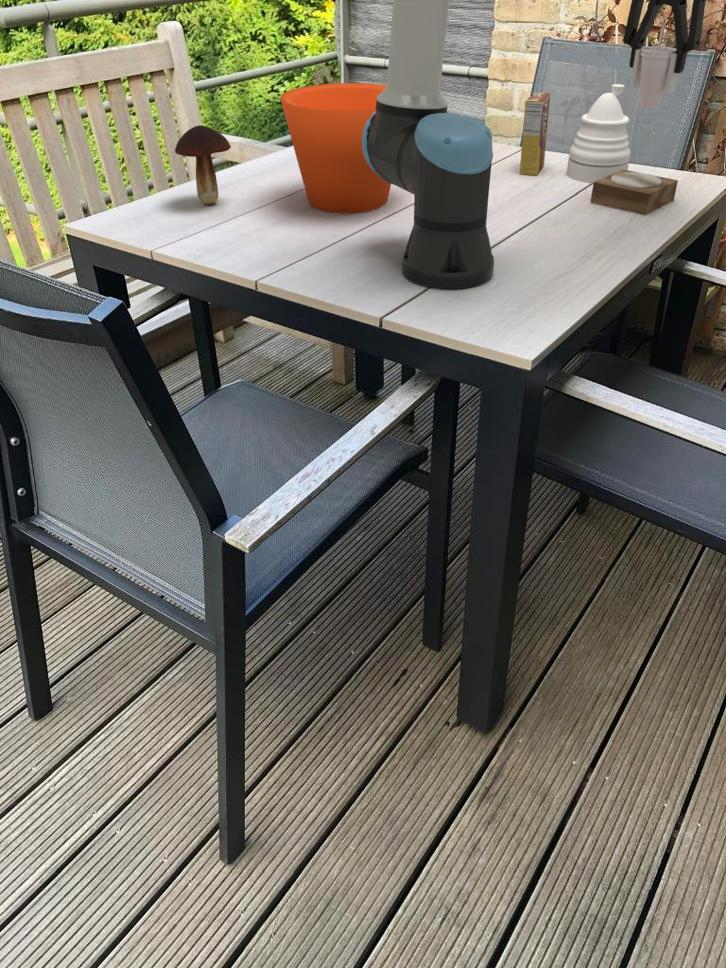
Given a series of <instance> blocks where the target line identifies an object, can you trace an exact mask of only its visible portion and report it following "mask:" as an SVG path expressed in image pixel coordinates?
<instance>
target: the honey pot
mask: <svg viewBox="0 0 726 968" xmlns="http://www.w3.org/2000/svg"><path fill="white" fill-rule="evenodd" d="M624 90H625V85H624V84H622V83H621V84H620V83H618V84H617V83H616V84H615V83H613V84H611V92H606V93H603V94H602V95H600V96H599V97H598V98H597V99H596V100H595V102H594V103H593V105H591V108H590V109H589V110H588V112H587V113H584V114H583V115H582V116H581V118H580V119H581V122H582V123H581V126H580V128H579V130H578V131H577V132H576V137H575V138H574V140H573V143H572V145H571V146H570V148H569V154H568V156H569V157H568V159H567V168H566V176H567V177H568V178H570V179H572V180H574V181H578V182H582V183H587V184H593V183H594V182H595V181H597V180H600V179H602V178H604V177H607V176H609V175H611V174H614V173H616V172H618V171H621V170H623V169H624V170H629V165H630V158H631V157H630V156H631V149H630V148H629V147H630V146H629V145H630V142H629V140H628V139H629V134H628V131H627V126H626V125H628V124H629V123H630V122H631V121H630V118H629V116H627V115H625V114H624V112H623V109H622V107H621V103H620V101H619V99H618V98H617V96H620V95H621V94H622V93H623V92H624Z"/></svg>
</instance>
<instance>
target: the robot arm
mask: <svg viewBox="0 0 726 968" xmlns="http://www.w3.org/2000/svg"><path fill="white" fill-rule="evenodd" d="M706 1H707V0H693V1H692V5H691V14H690V22H689V29H688V18H687V17H688V16H687V8H688V1H687V0H648V4H647V6H646V11H645V13H644V16H643V17H642V20H641V16H642V12H643V7H644V2H645V0H631V3H630V8H629V12H628V17H627V20H626V25H625V30H624V33H623V34H624V35H623V39H622V43H623V44H625V45H627V46H629V47H631V52H630V59H629V62H628V63H629V64H628V65H629V69H630V68H632V71H631V78H630V84H629V89H633V90H634V89H637V88H640V81H641V63H642V56H641V55H640V54H641V49H642V48H644V47H645V45H646V44H645V42H646V40H647V37H648V35H649V33H650V31H651V29H652V27H653V25H654V22H655V20H656V17H657V16H658V13H659V12H660V10H661V9H662V7H663V5H667V6H670V8H671V12H672V13H673V22H674V23H673V24H674V25H673V26H674V34H675V47H676V48H675V49H677V51H675V53H673V54H672V55H671V61H670V66H669V71H668V77H667V82H666V87H665V90H664V94H667V95H669V94H671V93H674V92H676V87H677V83H678V77H679V74H682V73H683V72H684V70H685V65H686V60H687V56H688V54H689V52H691V51H695V50H697V49H699V48H700V46H701V45H700V44H701V38H702V30H703V24H704V15H705V7H706ZM449 9H450V0H392V10H391V11H392V12H391V24H390V25H391V27H390V41H389V51H388V52H389V53H388V67H387V79H386V85H387V86H386V88H385V89H384V90H383V91H382V92H381V93H380V94H379V95H378V96H377V99H376V111H375V112H374V113H373V114H372V116H371V118H370V119H369V120H367V122H366V124H365V127H364V130H363V134H362V150H363V154H364V157H365V160H366V162H367V164H368V165H369V167H370V168H371V169H372V171H374V172H375V173H376V174H377V175H379V176H380V178H381V179H383V180H384V181H386V182H388V183H390V184H391V185H393V186H396V187H398V188H400V189H402V190H404V191H406V192H408V193H410V194H412V195H414V199H413V200H414V201H413V203H414V204H413V225H412V229H411V232H410V233H409V234H410V235H409V238H408V240H407V243H406V246H405V249H404V252H403V255H402V259H401V260H402V261H401V272H402V275H403V276H404V277H405V278H406V279H407V280H408V281H410V282H412V283H414V284H417V285H419V286H424V287H427V288H433V289H434V288H435V289H443V290H444V289H447V290H451V289H454V290H455V289H456V290H458V289H465V288H472V287H475V286H479V285H481V284H485V283H486V282H488V281H489V280H490V279H492V277H493V275H494V268H495V267H494V265H495V258H494V255H493V253H492V246H491V242H490V238H489V233H488V228H487V217H488V206H489V195H490V183H491V173H492V161H493V157H494V152H493V134H492V131H491V129H490V128H489V126H488V125H487V124H485V122H483V121H481V120H479V119H478V118H475V117H472V116H469V115H461V114H460V113H455V112H454V113H453V112H452V113H451V112H448V105H449V103H448V101H447V99H446V98H445V97H444V95H443V94H442V92H441V83H442V75H443V64H444V54H445V48H446V37H447V30H448V29H447V28H448V21H449V20H448V19H449ZM640 20H641V21H640ZM639 23H640V24H639Z"/></svg>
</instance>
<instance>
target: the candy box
mask: <svg viewBox="0 0 726 968" xmlns="http://www.w3.org/2000/svg"><path fill="white" fill-rule="evenodd" d="M550 100H551V92H550V93H549V92H548V93H547V92H532V93H531V95H529V97H528V98H527V99H526V100H525V102H524V112H523V113H524V114H523V124H522V125H523V127H522V139H521V151H520V154H521V155H520V165H519V175H523V176H532V177H533V176H535V177H537V176H538V175H539V173H540V172H541V170H542V168H544V166H545V159H546V158H545V155H546V146H547V137H548V125H549V123H548V122H549V115H550V114H549V111H550V104H551V103H550V102H551V101H550Z"/></svg>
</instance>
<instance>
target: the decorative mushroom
mask: <svg viewBox="0 0 726 968" xmlns="http://www.w3.org/2000/svg"><path fill="white" fill-rule="evenodd" d="M231 148H232V145H231V144H230V143H229V141H228V139H227V138H226V137H225V136H224V135H223V134H222V133H220V132H219V131H217V130H215V129H213V128H211V127H209V126H206V125H196V126H195V125H194V126H193V127H191V128H190V129H188V130H187V131H186V132H184V133H183V134H182V136H181V137H180V138H179V139H178V141H177V143H176V146H175V148H174V153H176V155H179V156H183V157H190V158H193V157H194V158H195V182H196V183H195V184H196V194H197V198H198V200H199V201H200V202H201V203H202V204H204V205H213V204H214V203H216V202H217V201H218V199H219V188H218V182H217V180H218V179H217V175H216V170H215V167H214V163H213V158H212V154H217V153H223V152H227V151H229V150H230V149H231Z"/></svg>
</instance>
